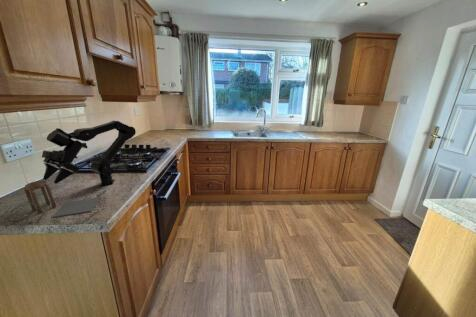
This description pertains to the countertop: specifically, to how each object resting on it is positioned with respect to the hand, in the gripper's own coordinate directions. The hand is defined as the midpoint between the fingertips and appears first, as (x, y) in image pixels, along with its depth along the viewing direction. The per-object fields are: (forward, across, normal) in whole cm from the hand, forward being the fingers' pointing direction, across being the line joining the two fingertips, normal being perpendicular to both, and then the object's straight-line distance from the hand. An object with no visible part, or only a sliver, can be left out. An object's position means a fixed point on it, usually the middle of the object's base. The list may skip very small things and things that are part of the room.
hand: (49, 181), depth 92 cm
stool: (+11, 0, +5) cm, 12 cm away
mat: (+6, +13, +10) cm, 17 cm away
